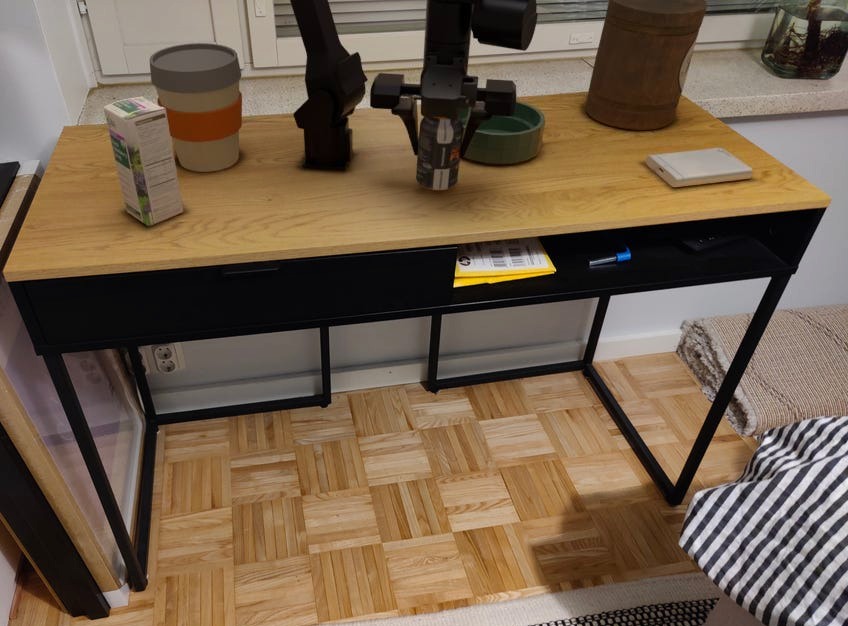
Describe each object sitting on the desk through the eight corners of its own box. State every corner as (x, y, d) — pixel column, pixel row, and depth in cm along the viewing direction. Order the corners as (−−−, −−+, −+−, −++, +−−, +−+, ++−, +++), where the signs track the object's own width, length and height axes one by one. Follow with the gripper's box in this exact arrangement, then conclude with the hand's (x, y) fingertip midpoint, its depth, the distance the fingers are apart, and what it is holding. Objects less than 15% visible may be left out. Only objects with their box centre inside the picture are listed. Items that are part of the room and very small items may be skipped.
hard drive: (720, 146, 108) (647, 153, 106) (754, 169, 102) (677, 177, 100) (716, 156, 109) (644, 163, 107) (750, 180, 103) (674, 188, 101)
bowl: (445, 163, 107) (447, 131, 104) (450, 125, 118) (452, 95, 114) (541, 169, 105) (547, 137, 102) (537, 130, 116) (542, 100, 113)
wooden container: (691, 126, 118) (736, -20, 103) (610, 134, 115) (645, -15, 101) (645, 94, 129) (680, -42, 114) (570, 101, 126) (596, -38, 112)
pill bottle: (454, 193, 98) (463, 114, 91) (412, 189, 99) (417, 109, 91) (459, 174, 102) (468, 96, 95) (418, 170, 103) (424, 92, 96)
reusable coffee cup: (151, 170, 105) (129, 66, 95) (191, 136, 114) (175, 39, 104) (228, 182, 102) (214, 76, 92) (263, 147, 111) (253, 47, 101)
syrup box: (125, 212, 95) (99, 105, 86) (163, 197, 98) (142, 93, 89) (147, 227, 92) (123, 119, 83) (186, 212, 95) (166, 106, 86)
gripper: (363, 54, 83) (363, 177, 93) (525, 63, 81) (506, 187, 91) (376, 26, 91) (375, 142, 101) (522, 33, 89) (506, 151, 99)
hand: (438, 156), depth 98 cm, fingers closed on pill bottle, 6 cm apart
